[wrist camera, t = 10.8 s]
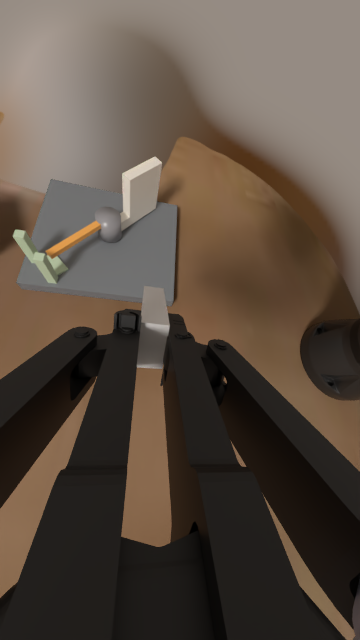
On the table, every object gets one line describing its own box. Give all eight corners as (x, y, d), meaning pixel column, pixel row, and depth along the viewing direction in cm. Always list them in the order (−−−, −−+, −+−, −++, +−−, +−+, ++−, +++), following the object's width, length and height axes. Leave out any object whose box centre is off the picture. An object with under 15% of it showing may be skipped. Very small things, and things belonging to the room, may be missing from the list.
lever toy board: (175, 213, 47) (184, 178, 39) (171, 306, 39) (181, 284, 32) (54, 188, 42) (38, 143, 35) (22, 288, 34) (-7, 258, 27)
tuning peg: (145, 199, 43) (149, 151, 35) (160, 212, 43) (167, 167, 34) (47, 260, 34) (21, 216, 26) (65, 277, 34) (44, 237, 26)
